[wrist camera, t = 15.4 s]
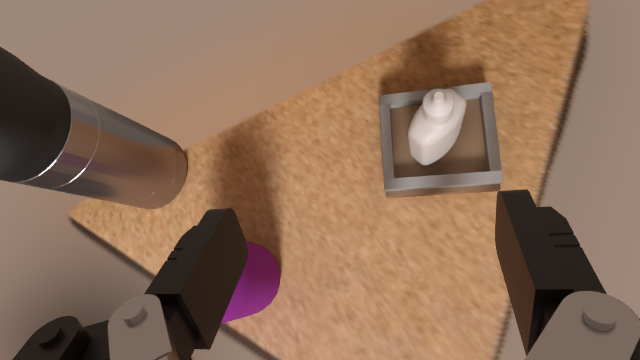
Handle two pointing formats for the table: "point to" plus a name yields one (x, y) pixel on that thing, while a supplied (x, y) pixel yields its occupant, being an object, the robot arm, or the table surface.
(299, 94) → the table surface
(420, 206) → the table surface
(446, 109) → the eye dropper bottle
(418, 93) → the grey square tray
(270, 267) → the beverage can
